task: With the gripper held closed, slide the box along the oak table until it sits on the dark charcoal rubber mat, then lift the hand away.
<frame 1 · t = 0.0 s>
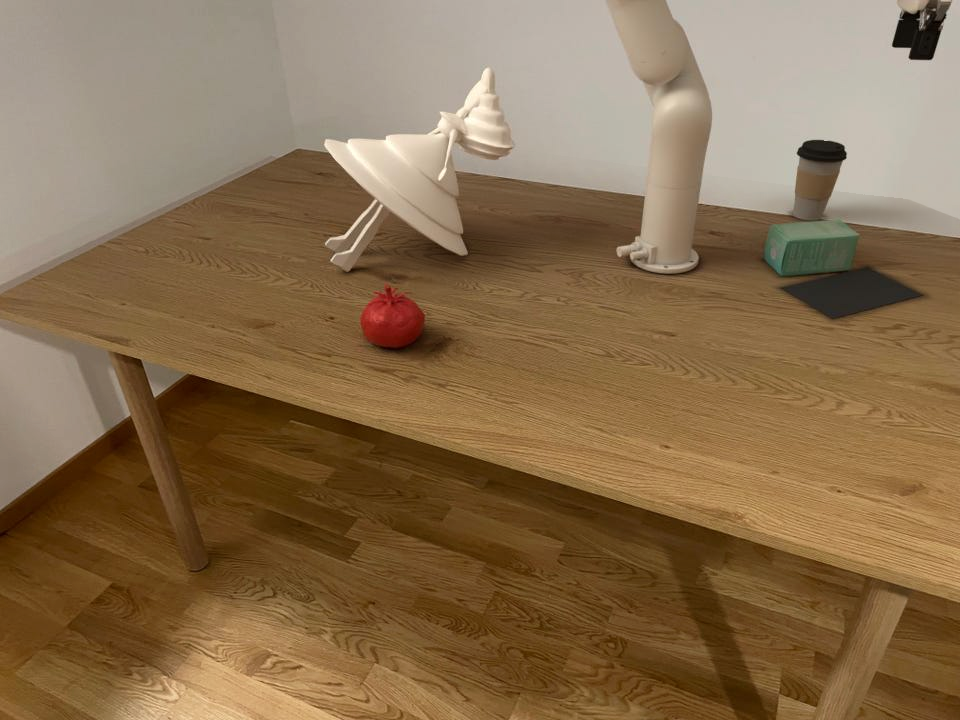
hand: (911, 53, 110), 37 cm above the table, tool pointing down, fingers open, 9 cm apart
box: (804, 267, 133), on the table, touching mat
coffee cup: (806, 216, 154), on the table
mat: (850, 291, 125), on the table
figurine: (420, 252, 142), on the table
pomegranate: (395, 339, 115), on the table
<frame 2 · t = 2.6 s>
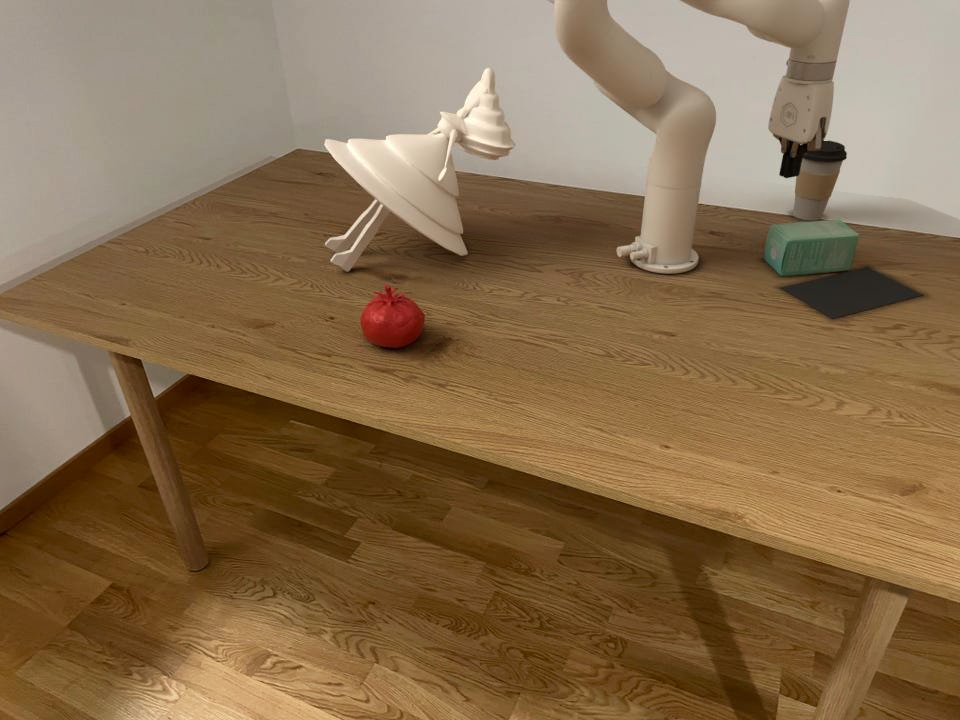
hand: (788, 175, 133), 14 cm above the table, tool pointing down, fingers closed
nothing on the table moved.
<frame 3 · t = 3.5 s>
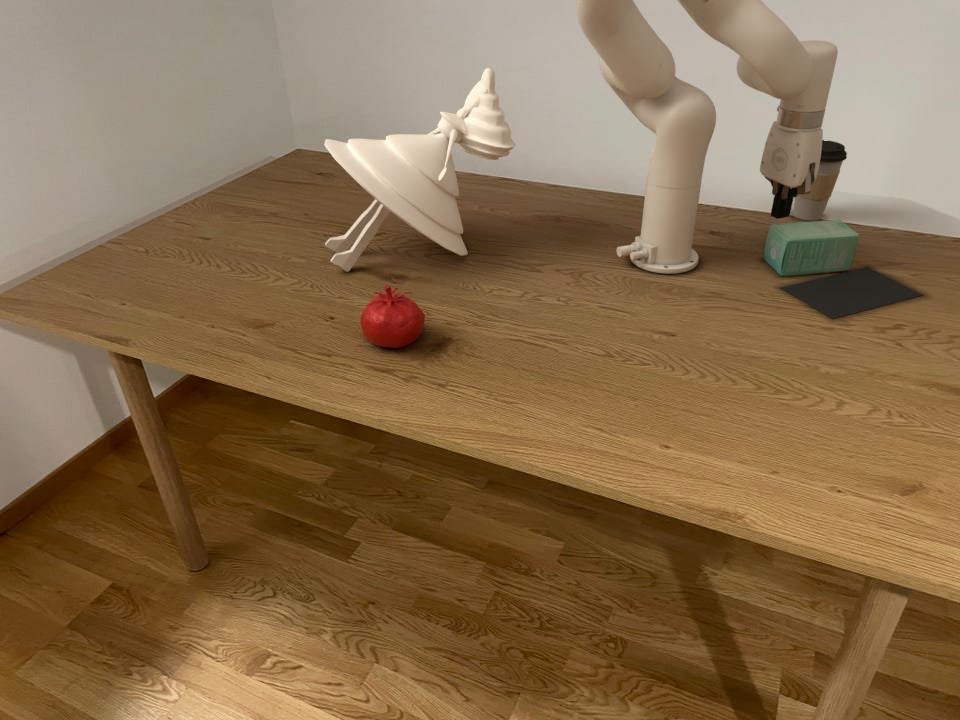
hand: (779, 216, 137), 7 cm above the table, tool pointing down, fingers closed
nothing on the table moved.
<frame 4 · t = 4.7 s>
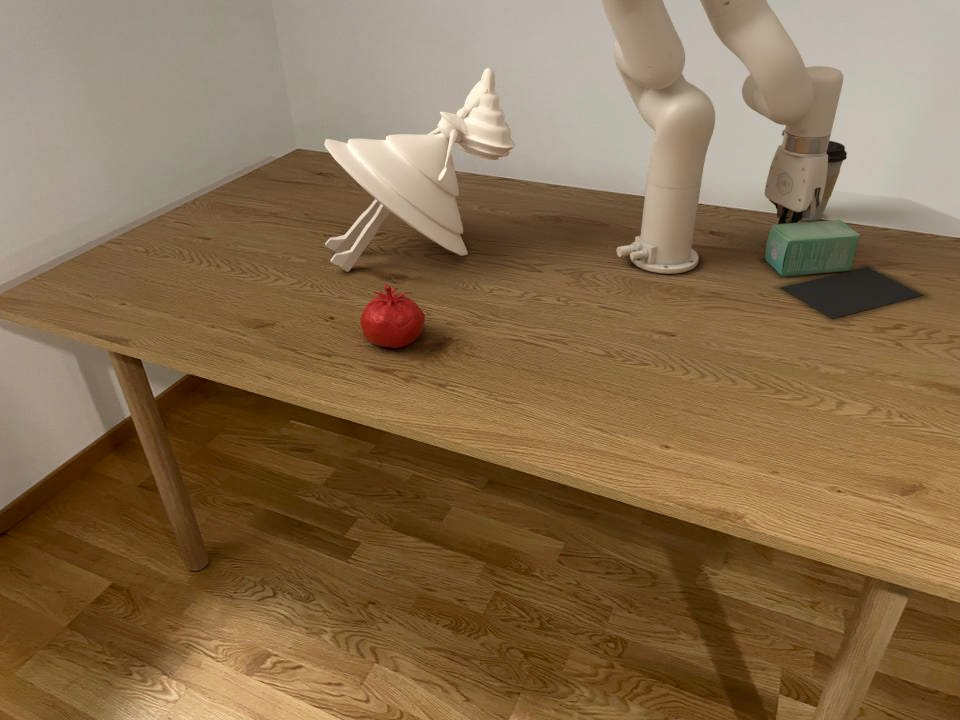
hand: (784, 239, 137), 3 cm above the table, tool pointing down, fingers closed
box: (805, 267, 133), on the table, touching gripper, mat
everything else where it was.
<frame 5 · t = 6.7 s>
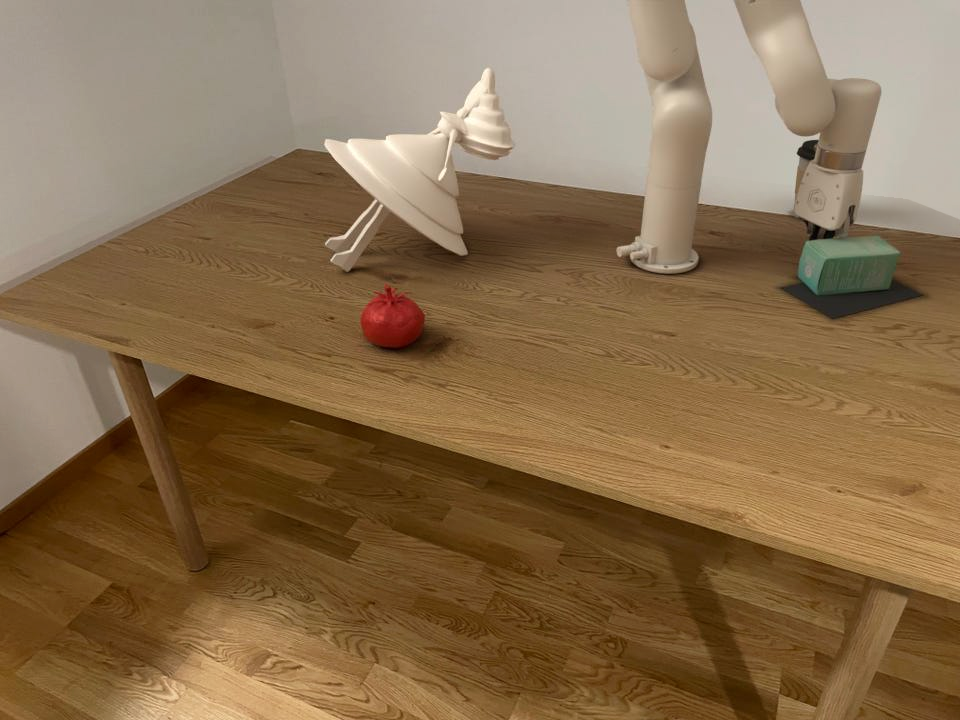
hand: (814, 257, 131), 2 cm above the table, tool pointing down, fingers closed
box: (840, 285, 127), resting on mat, touching gripper
everything else where it was.
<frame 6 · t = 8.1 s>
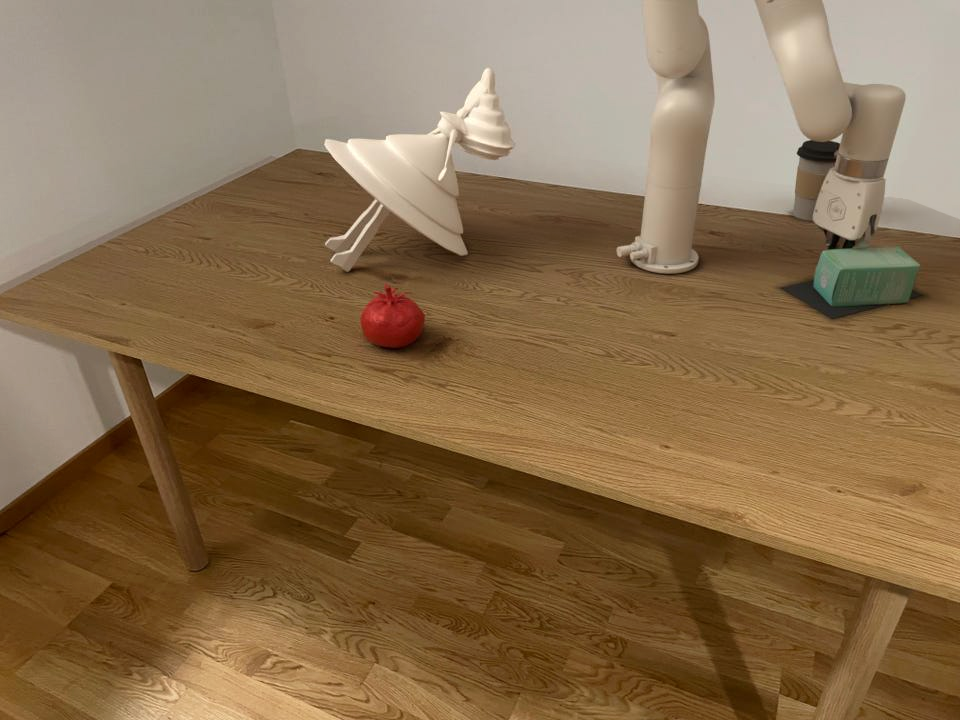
hand: (833, 267, 127), 2 cm above the table, tool pointing down, fingers closed
box: (857, 296, 123), resting on mat, touching gripper
everything else where it was.
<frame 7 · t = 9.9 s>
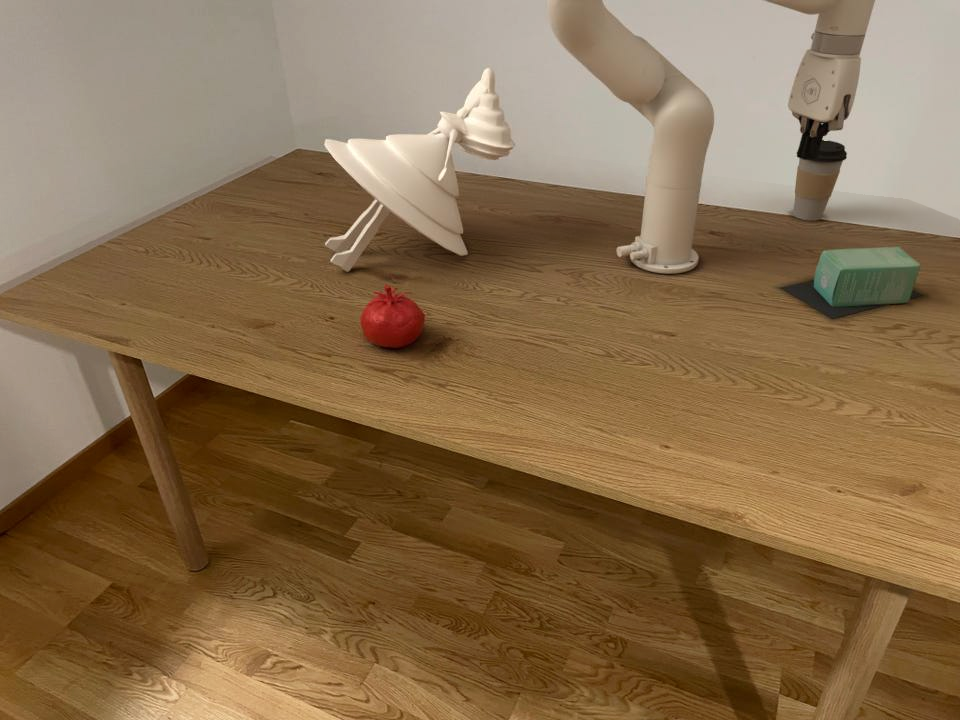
hand: (806, 157, 126), 19 cm above the table, tool pointing down, fingers closed
box: (857, 297, 123), resting on mat
everything else where it was.
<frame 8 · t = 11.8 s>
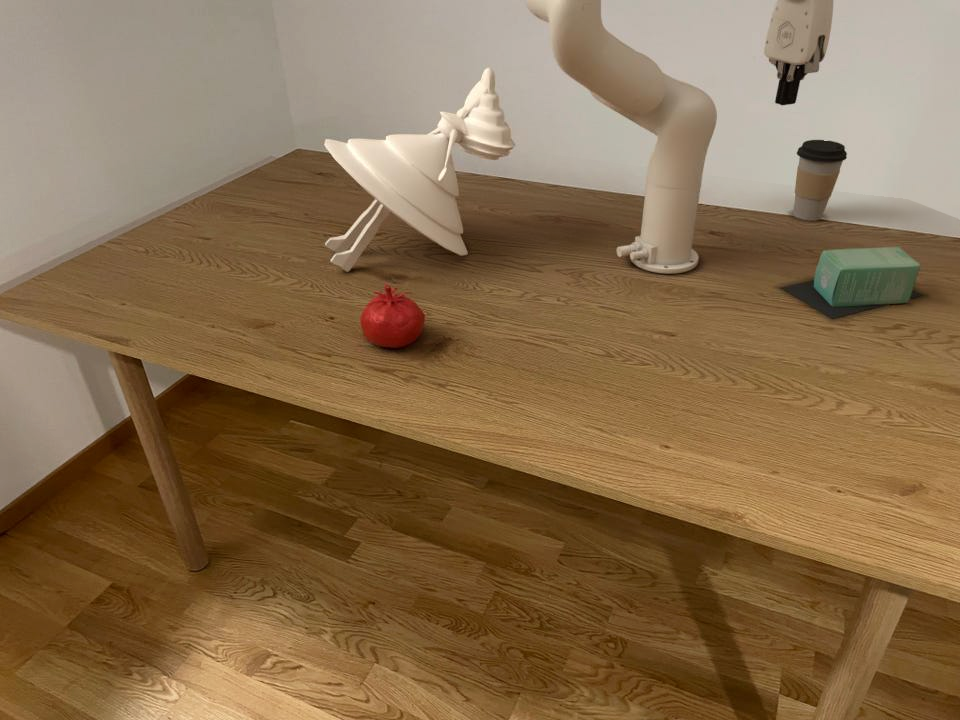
hand: (785, 103, 127), 27 cm above the table, tool pointing down, fingers closed
nothing on the table moved.
at the end: box inside the target area on the mat (0.9 cm from its centre), point 0.0 cm above the mat's base; box tilted 2°; box moved 12.9 cm from its start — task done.
